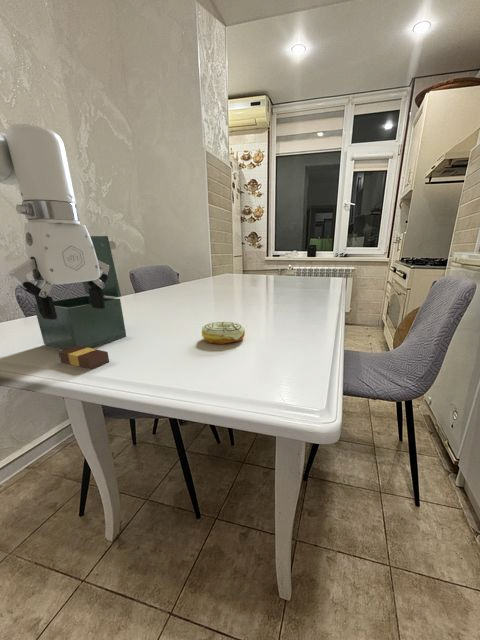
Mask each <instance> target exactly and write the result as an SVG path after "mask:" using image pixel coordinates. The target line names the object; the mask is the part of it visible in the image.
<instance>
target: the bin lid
mask: <svg viewBox="0 0 480 640" xmlns="http://www.w3.org/2000/svg"><path fill="white" fill-rule="evenodd" d="M90 238H91V240H92V243H93V246H94V250H95V253H96V257H97V260H99V261H102V262H104V263H106V264H108V265H109V272H108V275H107V276H108V279H107V280H106V282H105V284H104V285H105V287H104V288H103V289H102V291H103V296H104V297H112V298H121V297H122V293H121V288H120V285H119V280H118V277H117V271H116V266H115V262H114V259H113V253H112V251H113V250H115V249H116V248H117V243H116V242H115V241H114V240H109V236H108V235H90ZM82 285H83V289H84V290H83V291H84V294H85V295H89V288H91V286H89V285H88V284H87V283H86V282H82Z"/></svg>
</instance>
